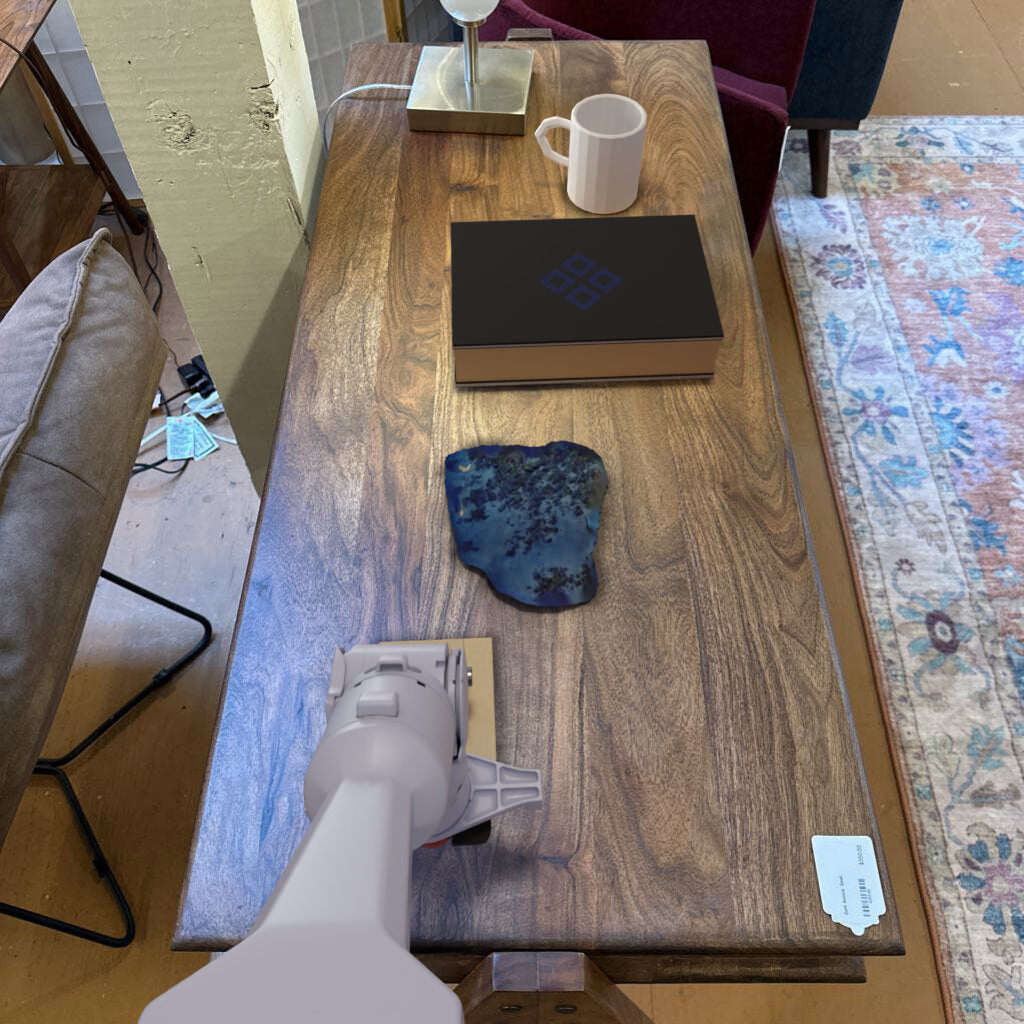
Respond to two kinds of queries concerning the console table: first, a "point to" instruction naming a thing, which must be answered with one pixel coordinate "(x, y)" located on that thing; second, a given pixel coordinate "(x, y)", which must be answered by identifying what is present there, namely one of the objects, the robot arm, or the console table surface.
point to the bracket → (476, 692)
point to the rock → (529, 517)
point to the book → (581, 301)
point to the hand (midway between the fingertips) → (434, 831)
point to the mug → (601, 151)
